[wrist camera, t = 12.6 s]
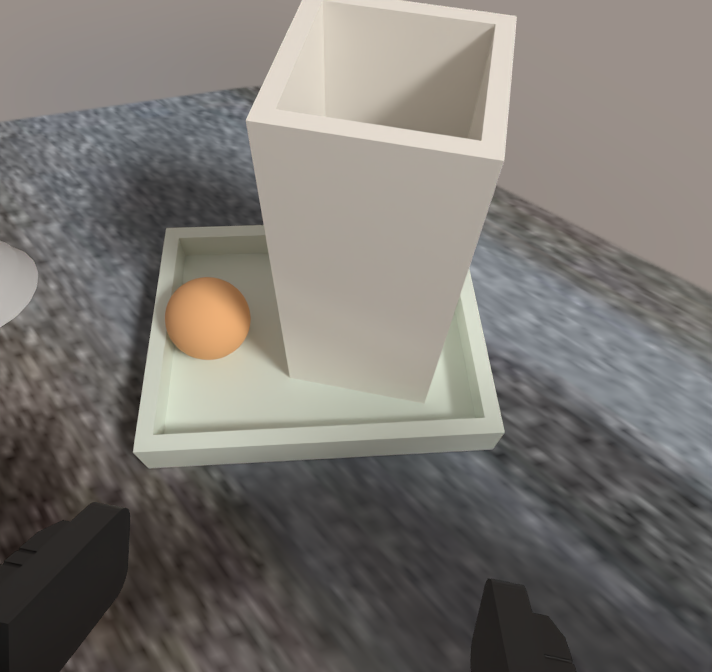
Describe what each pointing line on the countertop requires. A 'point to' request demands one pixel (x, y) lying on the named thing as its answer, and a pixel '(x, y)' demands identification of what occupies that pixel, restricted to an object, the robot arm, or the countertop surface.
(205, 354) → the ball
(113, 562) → the robot arm
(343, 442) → the tray
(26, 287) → the chalice
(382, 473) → the countertop surface
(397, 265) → the cup
